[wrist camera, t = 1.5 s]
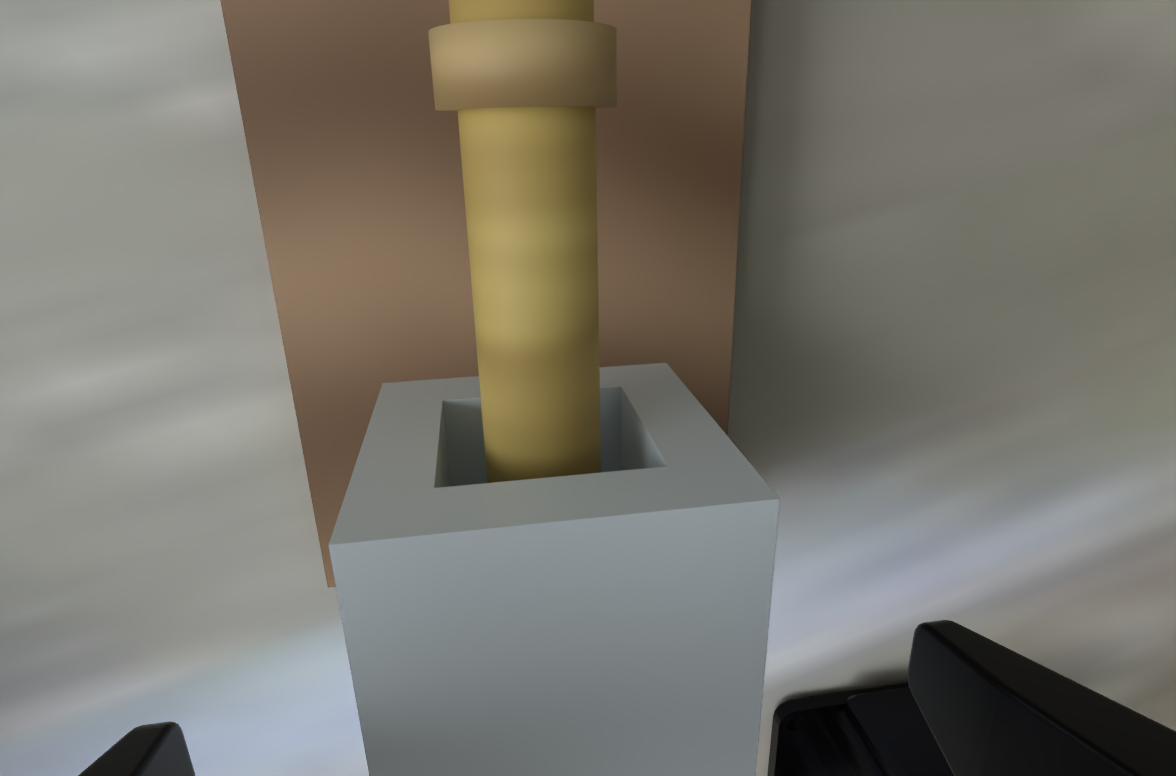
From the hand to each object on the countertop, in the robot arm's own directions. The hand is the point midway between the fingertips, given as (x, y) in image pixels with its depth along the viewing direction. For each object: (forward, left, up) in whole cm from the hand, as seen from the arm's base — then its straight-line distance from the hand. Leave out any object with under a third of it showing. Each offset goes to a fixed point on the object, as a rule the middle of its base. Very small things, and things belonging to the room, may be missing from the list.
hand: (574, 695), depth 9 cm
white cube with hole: (0, 0, -5) cm, 5 cm away
